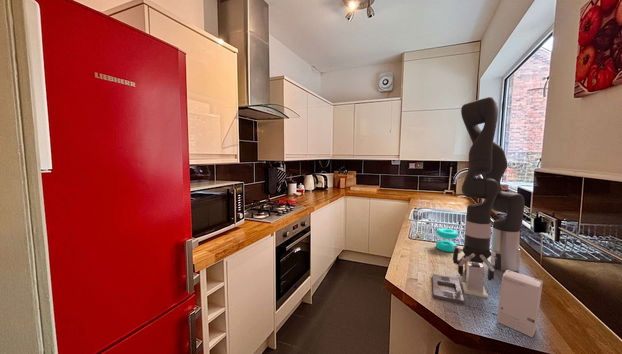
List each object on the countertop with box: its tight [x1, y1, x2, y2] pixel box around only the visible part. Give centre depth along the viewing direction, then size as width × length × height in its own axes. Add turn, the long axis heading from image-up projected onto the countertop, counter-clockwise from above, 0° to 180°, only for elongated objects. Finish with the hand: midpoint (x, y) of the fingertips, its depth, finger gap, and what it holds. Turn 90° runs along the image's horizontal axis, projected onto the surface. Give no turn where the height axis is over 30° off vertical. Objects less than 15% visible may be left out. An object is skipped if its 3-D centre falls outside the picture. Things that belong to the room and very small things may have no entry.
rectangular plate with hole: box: [431, 273, 465, 305], centre depth 88 cm, size 9×16×1 cm, turn 155°
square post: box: [465, 261, 485, 293], centre depth 86 cm, size 4×4×9 cm
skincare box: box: [496, 270, 544, 338], centre depth 68 cm, size 8×6×15 cm
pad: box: [461, 281, 489, 299], centre depth 87 cm, size 7×7×1 cm
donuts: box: [435, 227, 459, 253], centre depth 125 cm, size 10×10×10 cm
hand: (474, 277), depth 86 cm, fingers open, 8 cm apart
